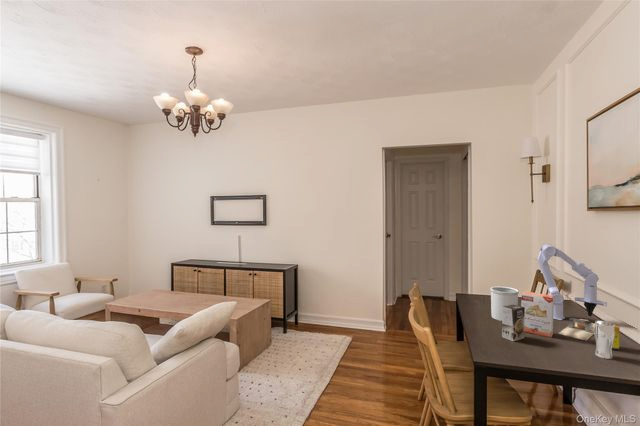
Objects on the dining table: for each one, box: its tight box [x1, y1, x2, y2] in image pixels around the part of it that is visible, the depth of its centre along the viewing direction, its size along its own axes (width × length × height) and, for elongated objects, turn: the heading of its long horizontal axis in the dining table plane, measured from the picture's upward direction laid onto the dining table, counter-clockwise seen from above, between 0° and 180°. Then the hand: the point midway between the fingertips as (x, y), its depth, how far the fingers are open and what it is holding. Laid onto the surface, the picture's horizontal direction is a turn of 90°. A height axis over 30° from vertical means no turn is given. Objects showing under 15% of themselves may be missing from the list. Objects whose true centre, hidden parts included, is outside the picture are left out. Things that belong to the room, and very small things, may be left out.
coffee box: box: [501, 304, 525, 342], centre depth 171 cm, size 9×6×16 cm
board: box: [557, 322, 595, 342], centre depth 183 cm, size 12×34×1 cm, turn 129°
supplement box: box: [612, 324, 620, 351], centre depth 161 cm, size 6×6×11 cm
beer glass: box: [594, 320, 615, 360], centre depth 151 cm, size 7×7×15 cm
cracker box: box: [520, 290, 554, 338], centre depth 178 cm, size 14×6×21 cm, turn 50°
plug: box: [577, 318, 590, 328], centre depth 189 cm, size 11×4×3 cm, turn 129°
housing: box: [568, 317, 592, 332], centre depth 183 cm, size 9×4×5 cm, turn 39°
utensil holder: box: [490, 285, 519, 322], centre depth 201 cm, size 15×15×18 cm
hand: (590, 315), depth 196 cm, fingers closed
